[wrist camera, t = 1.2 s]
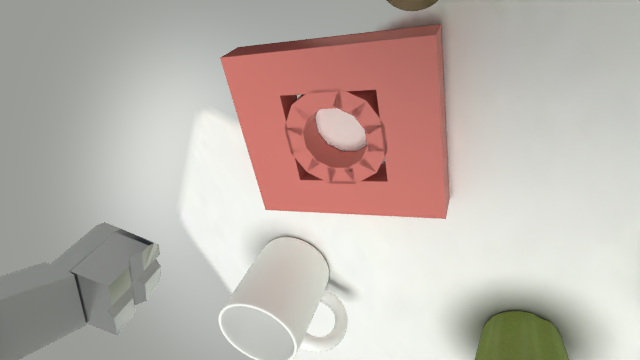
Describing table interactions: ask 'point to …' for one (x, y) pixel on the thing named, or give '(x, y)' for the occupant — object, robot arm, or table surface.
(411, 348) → the table surface
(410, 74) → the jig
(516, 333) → the plant pot
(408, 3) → the tan cylinder plug
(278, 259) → the mug
